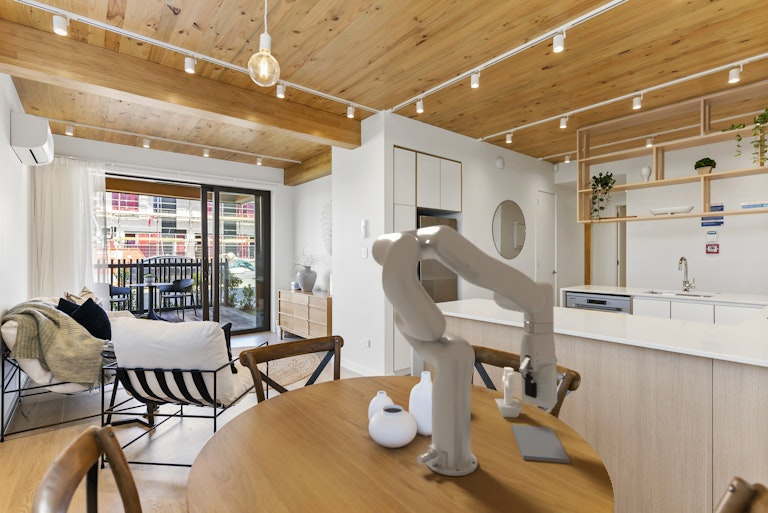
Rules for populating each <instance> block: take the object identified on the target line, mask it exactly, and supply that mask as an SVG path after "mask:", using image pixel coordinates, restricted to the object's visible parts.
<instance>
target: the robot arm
mask: <svg viewBox="0 0 768 513" xmlns="http://www.w3.org/2000/svg"><path fill="white" fill-rule="evenodd" d="M371 254H372V258H373V260H374V261H375V263H377V264H378V265H379V266H381V267H382V270H381V271H382V272H381V283H382V284H381V285H382V289H383V290H382V291H383V292H384V295H385V296H386V299H387V300H388V302H389V303H390V305H391V307H393V308H394V316H393V317H394V318H393V319H394V324H395V326H396V328H397V330H398V331H399V333H400V334H401V336H402V337H403V338H404V339H405V340H406V341H407V343H409V345H410V346H411V347H412V349H413V350H414V352H416V354H417V355H418V356H419V357H420V358H421V360H422V361H424V362H425V363H426V364H429V365H430V366H432V367H433V368H435V375H434V377H433V381H432V384H431V385H432V386H431V444H429V445H428V450H427V451H426V452H425V453H422V454H419V455H417V456H416V461H417V464H419V465H423V464H426V465H427V467H428V468H430V469H431V470H432V471H434V472H435V473H438V474H441V475H445V476H449V477H450V476H451V477H460V476H462V477H463V476H466V475H469V474H471V473H474V471H475V470H476V469H477V467H478V459H477V457H476V455H475V454H474V453H473V452H472V450H471V449H472V442H471V441H472V434H471V432H472V394H471V393H472V380H473V378H472V377H473V374H474V367H475V364H476V363H475V361H476V358H475V357H476V356H475V350H474V348H473V346H472V345H471V343H470V342H469V341H468V340H467V339H465V338H464V337H462V336H461V335H457V334H455V333H453V332H449V331H446V330H447V320H446V317H445V315H444V313H443V312H442V310H441V308H439V306H438V305H437V304H436V302H435V301H434V300H433V299H432V297H431V296H430V294H429V293H428V292H427V291H426V289H425V287H424V286H423V284H421V282H420V280H419V276H418V266H419V262H420V261H424V260H436V261H438V262H439V263H440V264H442V265H443V266H445V267H446V268H447V269H449V270H450V271H451V272H453V273H454V274H456V275H457V276H458V277H460V278H461V279H463V281H465V282H467V283H469V284H472V285H474V286H476V287H479V288H483V289H487V290H489V291H492V292H493V294H492V295H493V296H492V297H493V301H494V303H495V304H496V305H497V306H498V307H499V308H501V309H504V310H506V311H510V312H512V311H513V312H516V313H517V312H518V313H522V314H523V333H522V337H521V342H520V343H521V344H520V353H519V356H520V357H519V366H520V367H519V368H518V371H519V373H520V375H521V378H522V377H523V380H524V381H525V395H527V396H530V397H533V398H536V397H537V383H536V382H535V380H536V376H537V372H540V371H541V368H543V367H546V366H549V365H551V364H556V365H557V362H558V358H557V357H556V344H555V336H554V333H555V329H554V328H555V324H554V323H555V322H554V320H555V319H554V318H555V316H554V315H555V314H554V286H553V285H552V284H551V283H550V282H545V281H535V280H533V279H532V278H531V277H530V276H528V275H526V274H525V273H524V272H522V271H520V270H519V269H517V268H515V267H513V266H511V265H509V264H507V263H505V262H503V261H501V260H499V259H497V258H495V257H492V256H490V255H489V254H488V253H487V252H484V251H483V250H482V249H480V248H479V247H478V246H476V245H475V244H474V243H473V242H471V241H470V240H469V239H467V238H466V237H465V236H464V235H462V234H461V233H459V231H457V230H456V229H454V228H452V227H451V226H448V225H446V224H445V225H444V224H439V225H437V224H436V225H432V226H426V227H420V228H416V229H411V230H406V231H405V230H404V231H398V232H397V231H396V232H391V233H385V234H382V235H380V236H379V237H377V238H376V239H375V240H374V242H373V244H372V247H371ZM529 367H531V368H533V370H530V369H529ZM529 372H531V373H533V374H532V377H531V375H530V374H529Z"/></svg>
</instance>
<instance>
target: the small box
mask: <svg viewBox="0 0 768 513" xmlns="http://www.w3.org/2000/svg"><path fill="white" fill-rule="evenodd" d="M529 369H530V370H533V368H531V367H529ZM529 374H530V375H531V377H532V374H533V373H531V372H529ZM557 381H558V379H557V363H556V364H551V365H549V366H546V367H543V368H541V371H540V372H537V376H536V380H535V382H536V383H537V397H536V398H533V397H530V396H527V395H525V381H524V380H523V377H522V376H521V402H522V403H521V404H527V405H532V406H536V407H541V408H544V409H545V408H546V409H552V410H553V409H554V407H555V406H556V404H557V403H558V384H557V383H558V382H557Z"/></svg>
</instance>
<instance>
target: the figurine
mask: <svg viewBox="0 0 768 513" xmlns="http://www.w3.org/2000/svg"><path fill="white" fill-rule="evenodd" d="M516 378H517V376H516V374H515V373H514V368H512V367H509V366H508V367H507V366H504V367H503V376H502V379H501V390H502V391H503V393H504V394H503V396H504V397H503V398H495V399H494V401H495V403H496V404H497V407H498V410H499V412H500V415H502V417H503V418H518V417H519V416H520V413H521V412H522V411H523V409H524V407H523V405H522V403H520V401H519V400H518V399H517V398H514V391H515V389H516V387H517V384H516V383H517V382H516V381H517V379H516Z"/></svg>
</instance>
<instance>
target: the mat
mask: <svg viewBox="0 0 768 513" xmlns="http://www.w3.org/2000/svg"><path fill="white" fill-rule="evenodd" d="M511 429H512V433H513V435H514V438H515V441H516V444H517V447H518V449H519V452H520V454H521V458H522V460H525V461H535V462H537V461H538V462H549V463H551V462H552V463H559V464H560V463H561V464H570V463H571V459H570V457H569V455H568V454H567V452H566V450H565V448H564V447H563V445H562V443H561V442H560V440H559V439H558V437H557V435H556V433H555V432H554V430H553V428H552V427H551V426H549V427H548V426H535V425H522V424H521V425H518V424H511Z"/></svg>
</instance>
